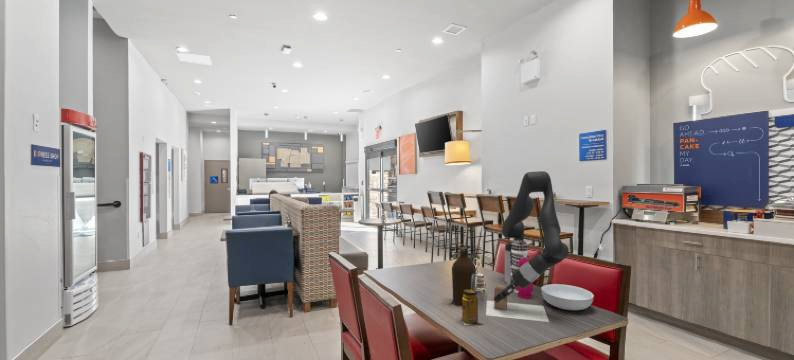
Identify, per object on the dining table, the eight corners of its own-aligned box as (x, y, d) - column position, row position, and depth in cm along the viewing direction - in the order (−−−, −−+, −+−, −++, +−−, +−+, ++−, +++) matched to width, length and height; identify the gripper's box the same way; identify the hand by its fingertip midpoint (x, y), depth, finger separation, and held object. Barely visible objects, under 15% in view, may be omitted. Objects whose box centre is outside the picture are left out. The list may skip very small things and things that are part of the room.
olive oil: (449, 306, 159) (450, 249, 158) (453, 298, 169) (454, 244, 168) (474, 309, 155) (475, 251, 155) (476, 301, 165) (477, 246, 165)
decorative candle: (507, 287, 186) (507, 239, 186) (525, 287, 186) (526, 239, 185) (512, 293, 177) (512, 242, 177) (531, 293, 177) (531, 242, 176)
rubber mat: (487, 301, 165) (487, 300, 165) (543, 306, 159) (543, 306, 159) (485, 316, 148) (485, 315, 148) (549, 322, 141) (549, 321, 141)
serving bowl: (552, 315, 149) (552, 298, 149) (534, 298, 170) (534, 283, 170) (603, 316, 149) (603, 299, 149) (579, 299, 170) (579, 284, 170)
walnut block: (495, 305, 159) (495, 285, 159) (507, 307, 157) (507, 286, 156) (494, 308, 155) (494, 287, 155) (505, 310, 153) (505, 289, 153)
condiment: (459, 318, 145) (459, 288, 145) (479, 317, 146) (480, 288, 146) (464, 325, 138) (464, 294, 138) (485, 325, 139) (486, 293, 139)
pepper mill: (515, 298, 170) (515, 255, 169) (517, 293, 176) (518, 252, 176) (531, 300, 166) (532, 257, 166) (533, 296, 173) (534, 254, 172)
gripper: (521, 263, 159) (493, 287, 164) (517, 271, 146) (486, 297, 151) (534, 277, 156) (505, 301, 162) (531, 286, 144) (499, 311, 149)
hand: (496, 298), depth 156 cm, fingers closed on walnut block, 4 cm apart
